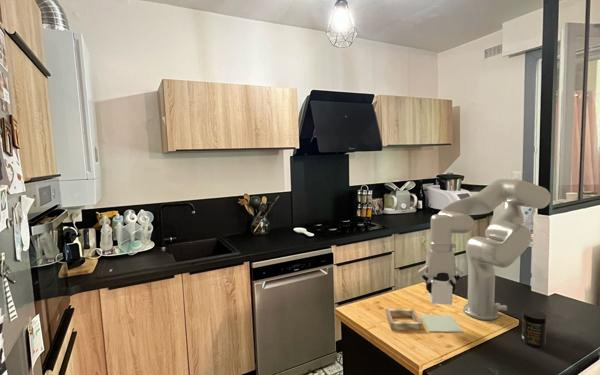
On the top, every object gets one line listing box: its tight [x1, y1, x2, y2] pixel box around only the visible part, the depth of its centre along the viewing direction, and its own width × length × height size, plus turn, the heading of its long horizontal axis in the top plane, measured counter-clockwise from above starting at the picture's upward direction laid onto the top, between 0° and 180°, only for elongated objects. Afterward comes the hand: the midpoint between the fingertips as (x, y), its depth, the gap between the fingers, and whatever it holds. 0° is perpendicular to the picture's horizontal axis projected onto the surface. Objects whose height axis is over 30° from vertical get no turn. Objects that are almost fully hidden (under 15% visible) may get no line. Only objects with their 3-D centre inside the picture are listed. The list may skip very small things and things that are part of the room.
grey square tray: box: [385, 308, 423, 331], centre depth 127 cm, size 11×11×2 cm
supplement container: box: [521, 309, 548, 349], centre depth 110 cm, size 7×7×10 cm
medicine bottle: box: [428, 273, 454, 306], centre depth 124 cm, size 7×7×12 cm
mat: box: [419, 314, 464, 333], centre depth 125 cm, size 12×12×1 cm
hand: (440, 291), depth 124 cm, fingers closed on medicine bottle, 7 cm apart
